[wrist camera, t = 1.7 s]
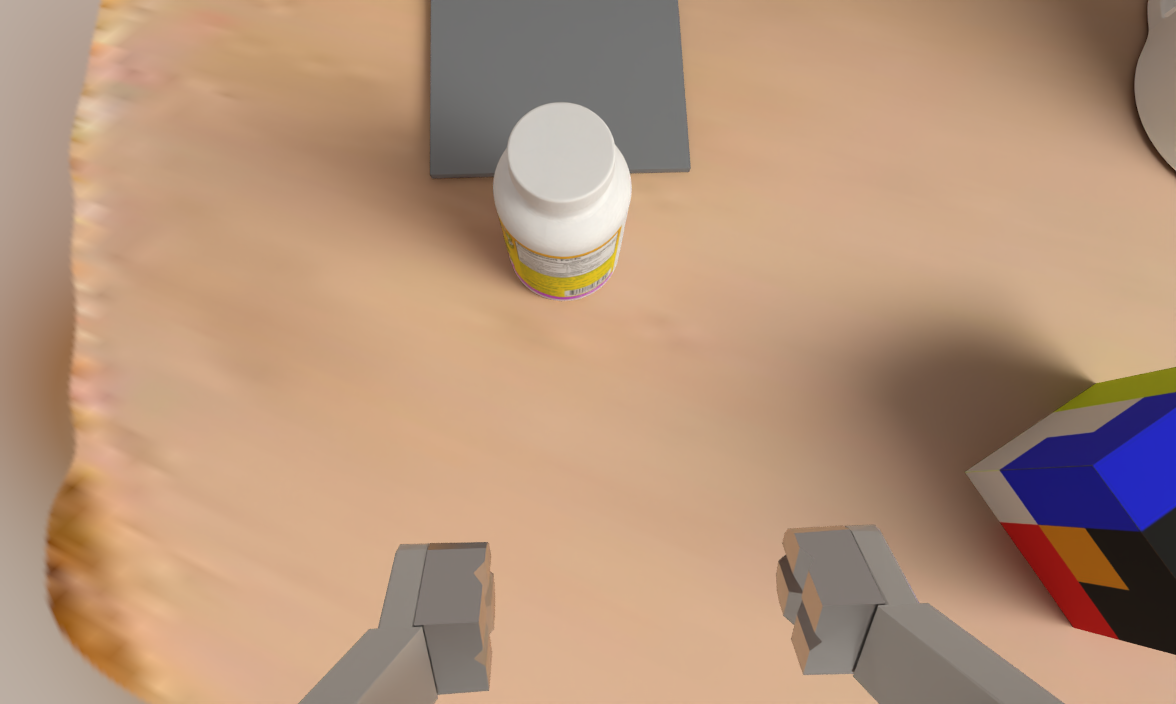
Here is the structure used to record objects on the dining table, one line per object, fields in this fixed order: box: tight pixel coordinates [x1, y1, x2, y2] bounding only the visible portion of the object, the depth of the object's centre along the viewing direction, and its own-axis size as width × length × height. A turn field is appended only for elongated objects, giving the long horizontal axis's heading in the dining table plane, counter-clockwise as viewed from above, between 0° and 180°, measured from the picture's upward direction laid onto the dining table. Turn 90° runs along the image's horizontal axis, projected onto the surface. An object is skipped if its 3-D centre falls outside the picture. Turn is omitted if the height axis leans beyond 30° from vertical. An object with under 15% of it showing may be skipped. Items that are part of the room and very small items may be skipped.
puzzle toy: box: [965, 367, 1176, 655], centre depth 35 cm, size 10×10×10 cm
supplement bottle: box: [493, 102, 632, 301], centre depth 36 cm, size 7×7×13 cm
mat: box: [430, 0, 691, 178], centre depth 44 cm, size 14×16×1 cm
